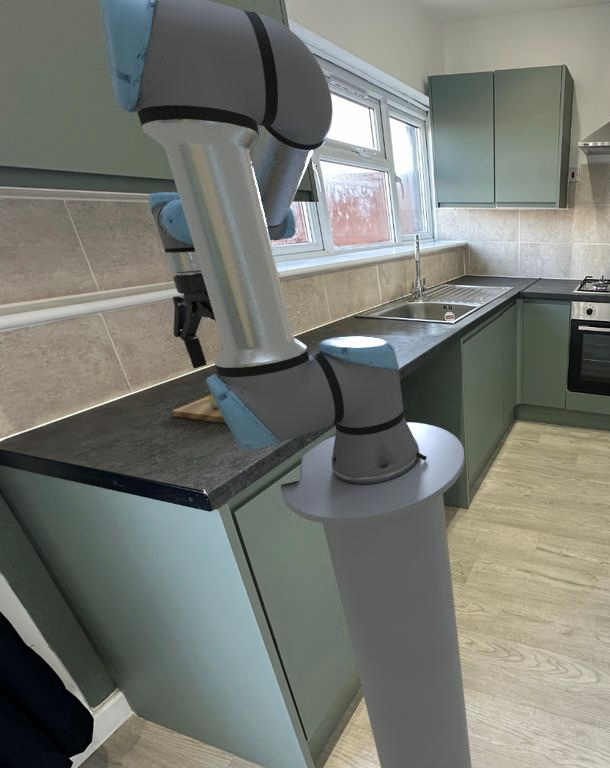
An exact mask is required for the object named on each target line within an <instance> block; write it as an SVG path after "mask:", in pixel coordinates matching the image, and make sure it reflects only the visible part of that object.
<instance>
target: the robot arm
mask: <svg viewBox="0 0 610 768" xmlns="http://www.w3.org/2000/svg"><path fill="white" fill-rule="evenodd" d="M99 2H100V3H99V5H100V15H101V22H102V30H103V37H104V45H105V50H106V51H105V52H106V58H107V64H108V69H109V75H110V80H111V84H112V88H113V92H114V96H115V101H116V104H117V106H118V107H119V108H120V109H122V110H124V111H127V112H128V113H131V114H134V113H137V115H138V119H139V122H140V126H141V128H142V131H143V133H144V134H146V135H147V136H148V137H150V138H151V139H152V140H154V142H157V143H158V144H159V145H160V146H161V147H162V148H163V150H165V154H166V157H167V160H168V164H169V167H170V170H171V173H172V177H173V180H174V184H175V187H176V192H174V191H173V192H169V191H167V192H166V191H165V192H163V191H162V192H153V193H152V192H151V193H150V194H149V195H148V202H149V207H150V213H151V215H152V217H153V219H154V223H155V225H156V229H157V231H158V234H159V237H160V240H161V243H162V246H163V249H164V254H165V257H166V260H167V265H168V267H169V271H170V273H172V274H175V275H173V277H172V279H173V283H174V285H175V289H176V291H177V293H178V294H182V295H177V296H173V297H172V301H173V306H174V315H173V318H174V319H173V335H174V337H175V338H180V339H181V341H183V343H184V345H185V349H186V351H187V353H188V356H189V358H190V362H191V364H192V368H193V369H198V368H201V367H204V366H207V365H208V364H207V361H206V358H205V355H204V351H203V347H202V345H201V342H200V339H199V336H198V335H197V331H198V329H199V326H200V324H201V320H202V318H209V319H211V320H213V321H215V323H216V325H217V329H218V333H219V336H220V340H221V342H222V349H221V351H219V352H220V353H219V354H218V355H217V356H216V357H215V359H214V360H213V362H214V365H215V369H216V373H217V374H216V373H214V374H211V375H210V376H208V377H207V378H206V380H205V383H206V385H207V386H208V389H209V392H210V395H212V397H213V399H214V401H215V403H216V405H217V407H218V409H219V411H220V413H221V414H222V416H223V418H224V420H225V422H226V423H225V424H226V426H227V428H228V429H229V431H230V433H231V434H232V436H233V437H234V439H235V440H236V442H237V443H238V445H240V446H241V447H242V448H243V449H245V450H249V451H250V450H251V451H254V450H259V449H262V448H263V449H264V448H267V447H269V446H274V445H280V444H282V443H284V442H287V441H290V440H292V439H295V438H298V437H301V436H304V435H307V434H310V433H313V432H316V431H319V430H322V429H324V428H327V427H331V426H333V425H334V426H335V435H334V436H335V442H334V448H333V455H332V469H333V473H334V475H335V477H336V478H337V479H338V480H340V481H342V482H344V483H348V484H352V485H372V484H379V483H383V482H387V481H390V480H393V479H395V478H398V477H400V476H402V475H404V474H405V473H407V472H408V471H410V470H411V469H412V468H413V467H414V466H415V465H416V464H417V462H418V460H419V458H420V459H422V460H424V461H425V460H426V458H427V457H426V456H424V455H422V454H421V453H419V446H418V444H417V441H416V440H415V438H414V436H413V434H412V432H411V430H410V428H409V426H408V424H407V419H406V417H405V411H404V403H403V395H402V388H401V379H400V372H399V368H400V366H399V363H398V359H397V355H396V350H395V348H394V345H392V344H391V343H390V342H389V341H387V340H384V339H381V338H378V337H377V338H376V337H367V336H339V337H331V338H327V339H323V340H322V341H320V342H319V344H318V348H317V350H318V352H317V353H313V354H309V349H308V346H307V345H306V344H305V343H303V342H301V341H300V340H299V339H297V338H296V337H294V335H293V331H292V327H291V324H290V323H291V321H290V318H289V315H288V309H287V305H286V301H285V297H284V293H283V289H282V285H281V279H280V276H279V272H278V268H277V263H276V259H275V255H274V250H273V246H272V242H271V241H280V240H287V239H292V238H293V237H294V236H295V234H296V227H297V226H296V225H297V224H296V218H295V214H294V211H293V209H292V204H293V201H294V199H295V196H296V194H297V192H298V189H299V187H300V184H301V181H302V179H303V176H304V174H305V171H306V169H307V167H308V164H309V162H310V158H311V156H312V155H313V151H316V150H318V149H320V148H322V147H323V145H324V143H326V140H327V137H328V135H329V132H330V130H331V127H332V122H333V112H334V111H333V101H332V100H333V99H332V94H331V90H330V86H329V83H328V81H327V77H326V75H325V74H324V71H323V69H322V67H321V65H320V63H319V61H318V60H317V58H316V57H315V55H314V54H313V53H312V52H311V50H310V49H309V47H308V46H307V44H305V42H303V40H302V39H300V37H299V36H298V35H297V34H296V33H294V32H293V31H292V30H291V29H290V28H288V27H287V26H286V25H285V24H283V23H281V22H279V21H278V20H276V19H274V18H272V17H270V16H268V15H265V14H263V13H258V12H255V11H248V10H244V9H241V8H237V7H234V6H231V5H226V4H222V3H219V2H216V1H212V0H99ZM252 150H253V154H252V157H251V152H252Z"/></svg>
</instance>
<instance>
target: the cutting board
mask: <svg viewBox="0 0 610 768" xmlns="http://www.w3.org/2000/svg"><path fill="white" fill-rule="evenodd" d="M209 397H210V395H206V396H204V397H203V398H199V399H197V400H195V401H193V402H190V403H188V404H185V405H182V406H180V407H178V408H176V409H173V410H172V411H171V413H172V415H173V417H174V418H183V419H190V420H197V421H206V422H212V423H213V422H214V423H219V424H221V423H222V424H226V422H225V420H224V418H223V416H222V414H221V413H220V411H219V409H218V408H214V407H212V406H211V405H210V403H209Z"/></svg>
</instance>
